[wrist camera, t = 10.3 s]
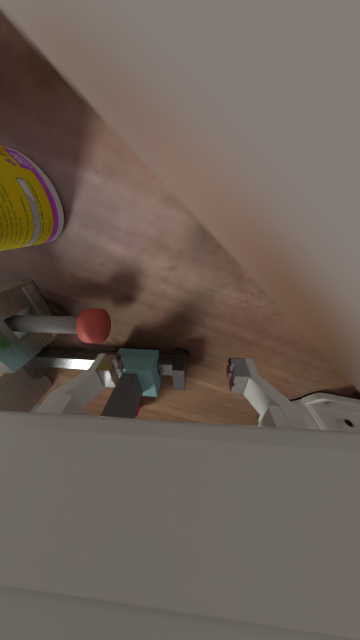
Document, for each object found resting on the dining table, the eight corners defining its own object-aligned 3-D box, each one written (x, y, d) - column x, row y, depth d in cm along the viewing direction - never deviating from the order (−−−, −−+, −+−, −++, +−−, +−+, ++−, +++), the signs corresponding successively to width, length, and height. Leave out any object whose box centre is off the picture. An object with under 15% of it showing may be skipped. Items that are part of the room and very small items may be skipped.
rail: (186, 350, 22) (183, 370, 20) (186, 369, 25) (184, 390, 22) (35, 343, 25) (14, 360, 23) (49, 360, 28) (31, 378, 25)
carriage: (158, 347, 22) (136, 416, 15) (162, 373, 25) (146, 440, 18) (119, 345, 23) (79, 410, 15) (128, 371, 26) (99, 434, 19)
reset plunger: (104, 302, 17) (83, 321, 14) (114, 328, 19) (97, 350, 16) (17, 301, 19) (-19, 318, 16) (35, 326, 21) (6, 345, 18)
